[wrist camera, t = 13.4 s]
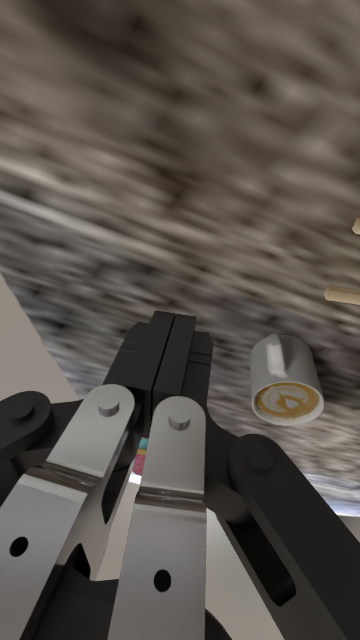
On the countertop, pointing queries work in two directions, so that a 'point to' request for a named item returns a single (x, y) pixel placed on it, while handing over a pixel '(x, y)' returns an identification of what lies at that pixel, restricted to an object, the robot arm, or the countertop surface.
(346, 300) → the slot track
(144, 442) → the cupcake
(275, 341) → the coffee mug
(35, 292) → the countertop surface
